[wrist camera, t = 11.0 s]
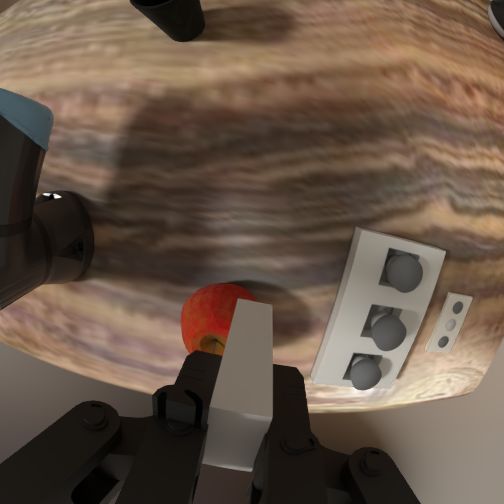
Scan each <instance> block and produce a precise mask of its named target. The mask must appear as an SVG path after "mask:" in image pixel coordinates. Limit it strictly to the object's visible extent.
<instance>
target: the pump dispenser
mask: <svg viewBox="0 0 504 504" xmlns="http://www.w3.org/2000/svg"><path fill="white" fill-rule="evenodd" d="M488 16H489V19H490V22H491V24H492V25H493V27H494V28H495V30H496V31H497V32H498V33H499V34H500V35H501V36H502V37H503V38H504V0H492V1H491V3H490V6H489V8H488Z"/></svg>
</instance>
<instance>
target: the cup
mask: <svg viewBox="0 0 504 504" xmlns="http://www.w3.org/2000/svg"><path fill="white" fill-rule="evenodd" d="M130 3H131V4H132V5H133V6H134V7H135V8H137V9H138V10H139V11H140V12H141V13H143V14H144V15H145V16H146V17H147V18H149V19H150V20H151V21H152V22H153V23H155V24H156V25H157V26H158V27H159V28H160V29H161V30H163V31H164V32H165V33H166V34H167V35H168V36H169V37H170V38H172V39H173V40H175V41H178V42H185V41H190V40H192V39H194V38H196V37H197V36H199V35H200V34H201V32H202V31H203V29H204V27H205V21H204V17H203V13H202V9H201V5H200V0H130Z"/></svg>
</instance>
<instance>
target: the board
mask: <svg viewBox="0 0 504 504" xmlns="http://www.w3.org/2000/svg"><path fill="white" fill-rule="evenodd" d="M445 253H446V251H444V250H442V249H440V248H437V247H435V246H431V245H428V244H424V243H420V242H417V241H413V240H409V239H405V238H401V237H398V236H394V235H390V234H386V233H382V232H378V231H374V230H370V229H365V228H361V227H357V226H355V229H354V233H353V237H352V241H351V245H350V249H349V253H348V257H347V260H346V264H345V268H344V271H343V275H342V278H341V282H340V285H339V289H338V292H337V295H336V299H335V302H334V305H333V309H332V312H331V315H330V318H329V321H328V324H327V327H326V330H325V333H324V336H323V339H322V342H321V345H320V348H319V351H318V353H317V356H316V359H315V362H314V364H313V367H312V370H311V377H312V382H313V384H322V385H332V386H345V387H354V386H353V384H352V381H351V378H350V370H351V368H352V366H351V359H352V357H353V356H355V355H356V354H358V353H363V354H367V356H368V358H369V359H373V360H375V361H376V362H377V364H378V366H379V368H380V370H381V372H382V377H381V379H380V381H379V382H378V384H376V385H375V386H374V387H372V388H384V389H390V388H391V386H392V384H393V382H394V381H395V379H396V377H397V375H398V373H399V371H400V369H401V367H402V365H403V363H404V361H405V359H406V357H407V354H408V352H409V350H410V348H411V346H412V344H413V341H414V339H415V337H416V335H417V332H418V330H419V327H420V325H421V323H422V320H423V318H424V315H425V313H426V310H427V307H428V305H429V302H430V299H431V297H432V294H433V291H434V288H435V285H436V282H437V279H438V276H439V273H440V270H441V267H442V263H443V260H444V257H445ZM402 254H406V255H409V256H411V257H413V258H414V259H416V260H417V261H419V262H420V264H421V265H422V268H423V277H422V280H421V282H420V284H419V286H418V287H417V288H416V289H415V290H413V291H411V292H409V293H402V292H399V291H398V290H396V289H395V288H394V287H393V286H392V285H391V284H390V283H389V281H388V278H387V272H386V270H385V262H386V260H387V259H388V258H389V257H390V256H392V255H402ZM379 311H385V312H387V313H388V315H389V314H392V315H395V316H397V317H398V318H399V319H400V320H401V321H402V323H403V324H404V325H405V327H406V330H407V333H406V337H405V339H404V341H403V343H402V344H401V345H400V346H399V347H397V348H396V349H394V350H391V351H382V350H380V349H379V348H378V347H377V346H376V344H375V342H374V341H373V339H372V337H371V329H372V326H371V324H370V321H371V318H372V316H373V315H374V314H375V313H377V312H379Z"/></svg>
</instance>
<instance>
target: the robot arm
mask: <svg viewBox="0 0 504 504" xmlns="http://www.w3.org/2000/svg"><path fill="white" fill-rule="evenodd" d="M53 122H54V117H53V113H52V111H51V110H50V109H49V108H48V107H47V106H45V105H43V104H41V103H39V102H37V101H34V100H32V99H29V98H27V97H25V96H22V95H19V94H17V93H14V92H11V91H8V90H5V89H2V88H0V310H2V309H3V308H5V307H7V306H8V305H10V304H11V303H13V302H14V301H16V300H18V299H19V298H21V297H22V296H24V295H26V294H27V293H29V292H31V291H32V290H34V289H35V288H37V287H39V286H41V285H43V284H63V283H67V282H70V281H72V280H74V279H76V278H77V277H79V276H81V275H82V274H83V273H84V272H85V271H86V269H87V268H88V266H89V264H90V262H91V259H92V255H93V248H94V236H93V229H92V225H91V222H90V219H89V216H88V214H87V212H86V210H85V208H84V207H83V205H82V204H81V203H80V201H79V200H78V199H77V198H76V197H74V196H73V195H71V194H70V193H68V192H65V191H51V192H46V193H43V194H41V195H39V196H38V197H37V198H36V192H37V187H38V182H39V178H40V173H41V169H42V165H43V162H44V158H45V154H46V151H48V142H49V138H50V134H51V130H52V126H53ZM152 399H153V400H152V402H153V415H152V416H149V417H144V418H133V417H121V416H119V415H118V413H117V411H116V410H115V409H114V408H113V407H111V406H110V405H108V404H106V403H104V402H100V401H86V402H82V403H80V404H78V405H76V406H75V407H74V408H72V409H71V410H70V411H69V412H67V413H66V414H65V415H64V416H62V417H61V418H60V419H58V420H57V421H56V422H54V423H53V424H52V425H51V426H49V427H48V428H47V429H45V430H44V431H43V432H41V433H40V434H39V435H38V436H36V437H35V438H34V439H32V440H31V441H30V442H28V443H27V444H26V445H25V446H23V447H22V448H21V449H20V450H18V451H17V452H15V453H14V454H13V455H12V456H10V457H9V458H8V459H6V460H5V461H4V462H2V463H1V464H0V504H108V503H109V502H110V501H111V500H112V499H113V498H114V496H115V495H116V494H117V493H118V492H119V491H120V490H121V491H120V493H119V496H118V498H117V500H116V503H115V504H193V502H194V498H195V494H196V489H197V484H198V481H199V475H200V469H201V465H202V463H204V464H209V465H214V466H219V467H225V468H231V469H237V470H243V471H252V469H253V467H254V472H253V479H252V481H251V483H250V485H249V488H248V490H247V492H246V495H245V496H246V497H249V498H248V504H421V503H420V502H419V500H418V499H417V497H416V496H415V494H414V493H413V491H412V489H411V488H410V486H409V485H408V483H407V482H406V480H405V478H404V477H403V475H402V474H401V473H400V471H399V469H398V468H397V466H396V465H395V463H394V461H393V460H392V459H391V457H390V456H389V455H388V454H387V453H385V452H384V451H382V450H380V449H377V448H373V447H364V448H360V449H358V450H356V451H354V453H353V454H352V455H347V454H344V453H340V452H336V451H333V450H330V449H327V448H325V447H324V446H322V445H321V444H320V443H319V441H318V439H317V437H315V435H314V434H313V433H312V432H311V430H310V422H309V413H308V406H307V399H306V391H305V384H304V377H303V376H302V374H301V373H300V372H299V370H298V369H297V367H290V366H283V365H277V364H273V318H272V305H270V304H265V303H259V302H254V301H249V300H244V299H239V298H238V300H237V304H236V308H235V312H234V315H233V319H232V323H231V327H230V331H229V334H228V338H227V342H226V346H225V350H224V353H223V356H222V355H217V354H213V353H208V352H204V351H199V350H195V351H194V352H192V353H191V354H190V355H188V356H187V357H186V359H185V361H184V364H183V366H182V368H181V370H180V373H179V376H178V377H177V379H176V382H175V384H174V385H166V386H164V387H162V388H160V389H158V390H157V391H156V392H155V393H154V394H153V395H152ZM121 488H122V489H121Z"/></svg>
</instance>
